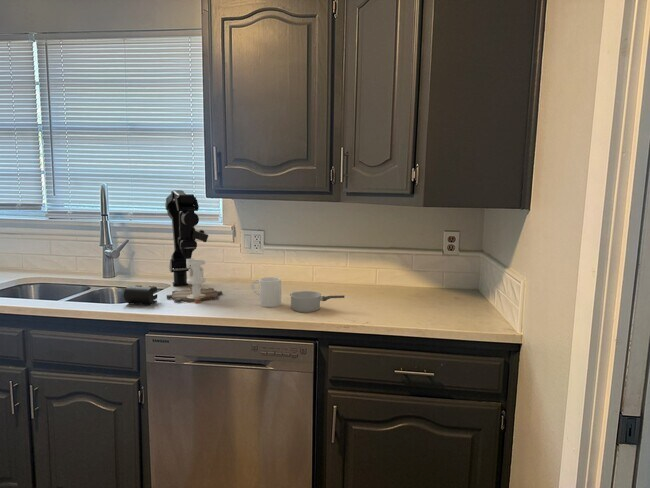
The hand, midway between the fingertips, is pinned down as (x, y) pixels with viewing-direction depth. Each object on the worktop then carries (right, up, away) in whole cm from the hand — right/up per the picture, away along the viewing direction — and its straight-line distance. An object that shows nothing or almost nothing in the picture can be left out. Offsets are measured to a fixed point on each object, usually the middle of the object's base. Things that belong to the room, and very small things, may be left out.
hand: (187, 262), depth 182 cm
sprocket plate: (+4, -14, -4) cm, 15 cm away
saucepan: (+54, -17, -21) cm, 60 cm away
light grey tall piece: (+6, -13, -9) cm, 17 cm away
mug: (+34, -16, -14) cm, 40 cm away
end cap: (-12, -15, -16) cm, 25 cm away
